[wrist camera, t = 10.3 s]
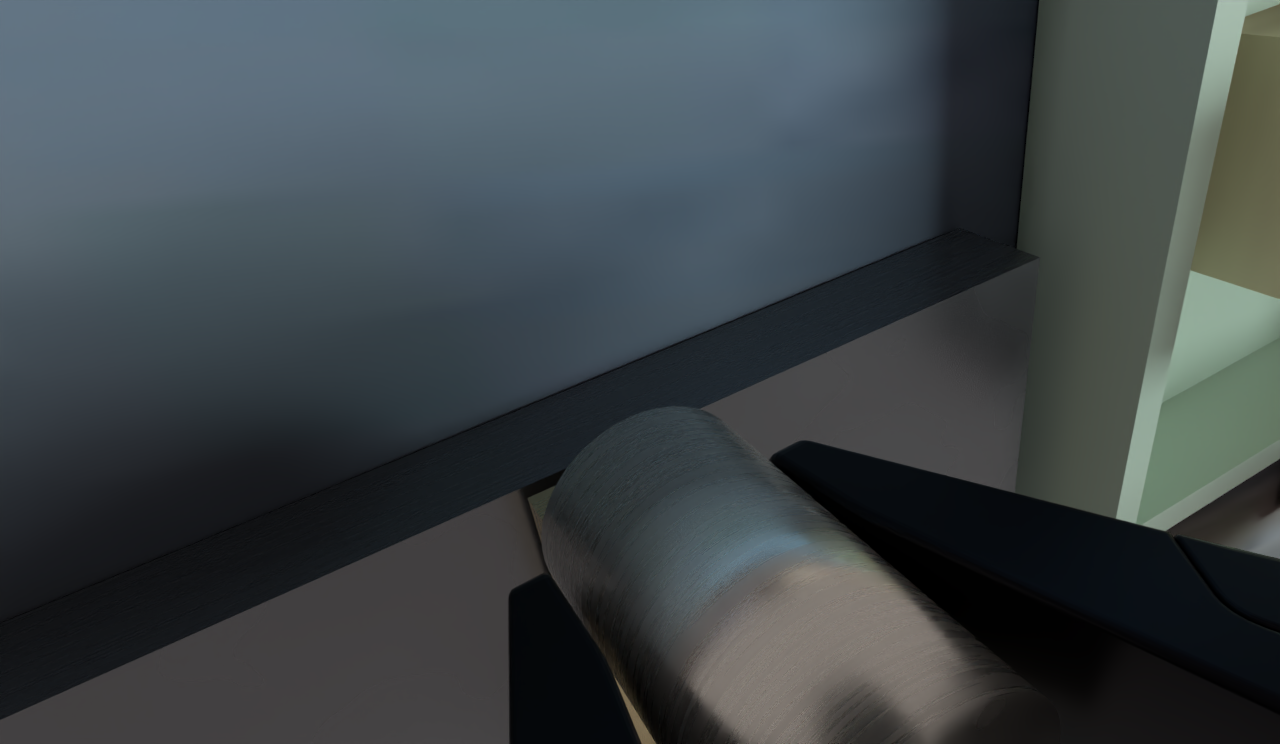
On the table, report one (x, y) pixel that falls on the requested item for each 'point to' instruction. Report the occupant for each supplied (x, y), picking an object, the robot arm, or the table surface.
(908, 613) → the crank
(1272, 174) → the block
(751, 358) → the crank base
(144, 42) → the table surface
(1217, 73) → the tray
